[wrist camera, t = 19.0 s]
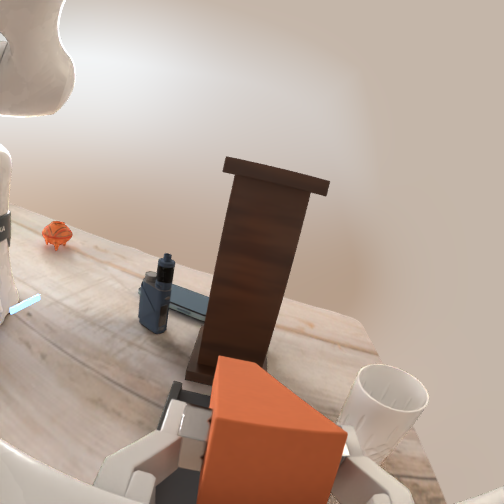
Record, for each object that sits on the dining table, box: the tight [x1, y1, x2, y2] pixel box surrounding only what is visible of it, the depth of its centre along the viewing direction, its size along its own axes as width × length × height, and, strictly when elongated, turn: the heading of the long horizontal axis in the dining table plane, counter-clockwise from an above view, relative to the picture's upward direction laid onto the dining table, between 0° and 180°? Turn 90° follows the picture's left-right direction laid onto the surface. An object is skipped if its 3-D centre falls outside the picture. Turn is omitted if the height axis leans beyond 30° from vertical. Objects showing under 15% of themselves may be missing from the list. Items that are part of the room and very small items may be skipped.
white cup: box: [336, 364, 429, 465], centre depth 27 cm, size 8×8×10 cm
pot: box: [42, 221, 72, 251], centre depth 64 cm, size 8×8×7 cm
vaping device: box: [138, 253, 175, 334], centre depth 44 cm, size 3×5×12 cm, turn 59°
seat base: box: [155, 381, 211, 504], centre depth 21 cm, size 24×12×2 cm, turn 179°
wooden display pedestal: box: [185, 157, 330, 385], centre depth 38 cm, size 14×10×26 cm
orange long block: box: [196, 356, 348, 504], centre depth 17 cm, size 22×4×3 cm, turn 1°
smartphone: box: [138, 284, 209, 321], centre depth 55 cm, size 8×2×15 cm
